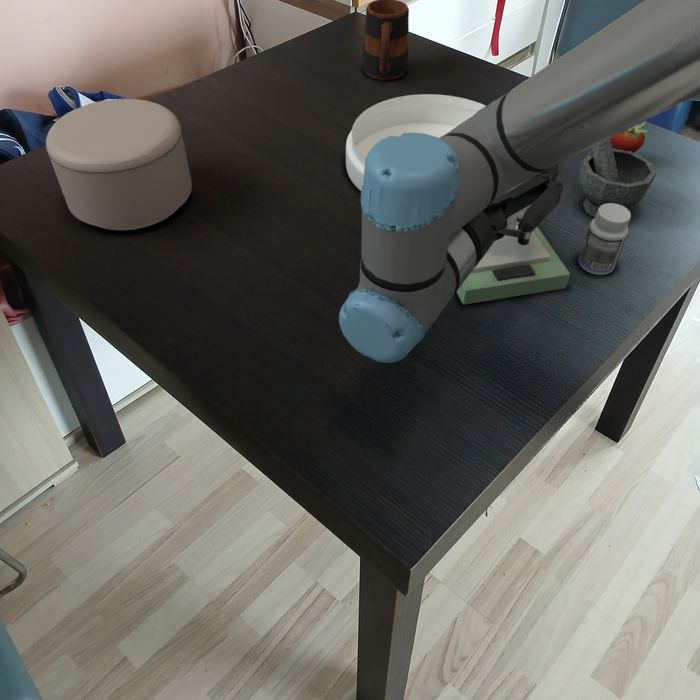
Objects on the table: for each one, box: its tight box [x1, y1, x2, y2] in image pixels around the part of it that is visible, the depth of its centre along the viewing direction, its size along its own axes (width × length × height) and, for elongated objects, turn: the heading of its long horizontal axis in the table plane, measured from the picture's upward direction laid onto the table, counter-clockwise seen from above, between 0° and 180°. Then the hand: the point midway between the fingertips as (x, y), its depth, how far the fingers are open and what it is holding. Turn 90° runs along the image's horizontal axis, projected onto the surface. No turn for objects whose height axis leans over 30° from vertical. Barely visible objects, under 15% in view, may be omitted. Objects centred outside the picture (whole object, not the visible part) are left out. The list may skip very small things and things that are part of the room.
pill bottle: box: [578, 203, 632, 276], centre depth 85 cm, size 5×5×8 cm
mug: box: [362, 0, 410, 81], centre depth 122 cm, size 9×12×12 cm
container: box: [45, 98, 193, 231], centre depth 94 cm, size 18×18×12 cm
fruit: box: [610, 120, 648, 154], centre depth 102 cm, size 5×5×8 cm
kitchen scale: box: [456, 226, 571, 306], centre depth 88 cm, size 15×14×3 cm
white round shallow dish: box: [345, 93, 486, 192], centre depth 103 cm, size 27×27×6 cm
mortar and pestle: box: [578, 138, 657, 218], centre depth 93 cm, size 11×9×12 cm
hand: (528, 146), depth 81 cm, fingers closed on can, 6 cm apart
